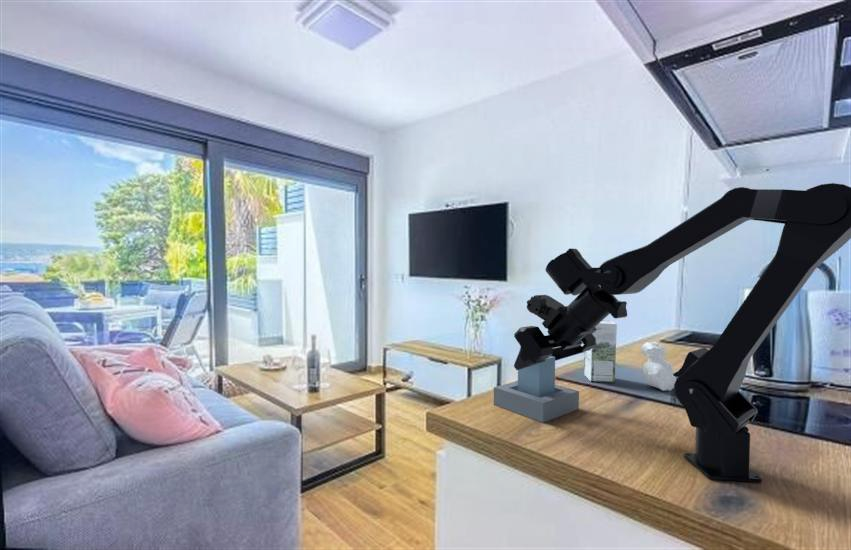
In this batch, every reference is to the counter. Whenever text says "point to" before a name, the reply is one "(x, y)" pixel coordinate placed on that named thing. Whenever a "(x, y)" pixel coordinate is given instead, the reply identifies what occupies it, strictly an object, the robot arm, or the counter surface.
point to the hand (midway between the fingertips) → (530, 364)
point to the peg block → (538, 378)
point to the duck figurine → (657, 367)
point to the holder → (536, 402)
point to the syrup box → (602, 354)
